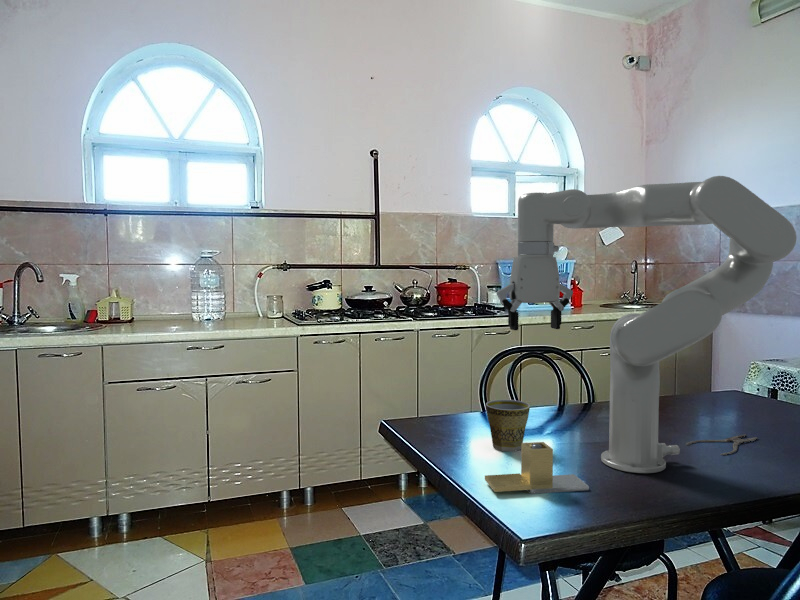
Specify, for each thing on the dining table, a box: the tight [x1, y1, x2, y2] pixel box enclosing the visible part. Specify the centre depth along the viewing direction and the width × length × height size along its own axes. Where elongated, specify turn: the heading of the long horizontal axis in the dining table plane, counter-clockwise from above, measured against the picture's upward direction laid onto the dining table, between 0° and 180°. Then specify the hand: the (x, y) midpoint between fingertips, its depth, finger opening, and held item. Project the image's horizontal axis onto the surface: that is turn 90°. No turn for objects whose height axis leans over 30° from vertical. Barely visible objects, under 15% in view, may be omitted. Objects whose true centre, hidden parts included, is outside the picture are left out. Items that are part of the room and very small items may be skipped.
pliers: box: [685, 433, 759, 456], centre depth 132 cm, size 10×1×20 cm
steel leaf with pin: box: [526, 444, 590, 495], centre depth 106 cm, size 11×6×8 cm, turn 98°
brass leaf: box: [484, 441, 554, 493], centre depth 105 cm, size 11×6×7 cm, turn 99°
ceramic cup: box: [485, 399, 531, 453], centre depth 131 cm, size 13×10×10 cm
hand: (534, 329), depth 123 cm, fingers open, 9 cm apart
